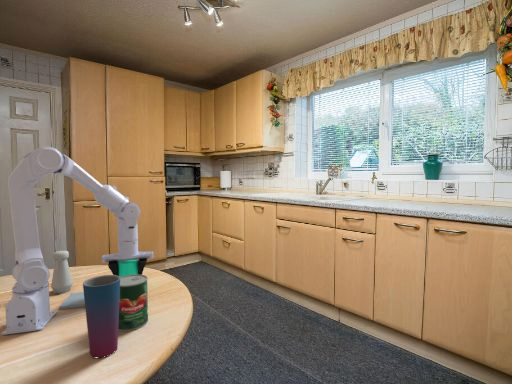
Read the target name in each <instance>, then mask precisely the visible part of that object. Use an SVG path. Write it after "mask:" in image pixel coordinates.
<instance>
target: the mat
mask: <svg viewBox="0 0 512 384" xmlns="http://www.w3.org/2000/svg"><path fill="white" fill-rule="evenodd" d="M76 308H85V300H84V291H79V292H71V293H70V294H69V295H68V296H67V298H65V300H64V301H63V302H62V303H61V304H60V305H59V310H61V311H62V310H67V309H68V310H69V309H76Z"/></svg>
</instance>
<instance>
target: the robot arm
mask: <svg viewBox="0 0 512 384" xmlns="http://www.w3.org/2000/svg"><path fill="white" fill-rule="evenodd" d="M51 174H55V175H59V176H60V175H61V176H66V177H69V178H70V179H72V180H74V181H75V182H76V183H77V184H80V185H81V186H82V187H84V188H85V189H87V190H88V191H90V192H91V193H93V198H94V200H95V201H96V202H97V203H98V204H100V205H101V206H103V207H104V208H105V209H107V210H109V211H110V212H111V213H113V216H114V217H115V218H117V221H116V222H117V253H112V254H103V255H102V256H101V263H102V264H104V263H106V264H107V263H108V265H107V266H108V269H109V270H110V273H112V274H111V275H117V276H118V262H119V261H127V260H139V261H138V273H139V274H138V275H143V271H144V269H145V267H146V264H147V262H148V260H153V259H154V251H139V230H138V226H139V225H138V219H139V218H140V216H141V213H142V211H141V210H140V207H139V205H138V204H137V203H135V202H134V201H133V202H132V201H130V198H129V196H124V195H123V194H122V193H121V192H119V191H118V188H117V187H116V186H115V185H110V184H101V183H100V182H99V181H98V180H97V179H95V177H93V176H92V175H91V174H90V173H88V172H87V170H85V169H84V168H82V166H80V165H78V163H76V162H75V161H74V160H72V159H71V158H70V157H68V156H67V155H66V154H64V153H63V154H62V153H61V151H59V149H56V148H55V147H52V146H42V147H39V148H37V149H34V150H32V151H30V152H29V153H26V154H25V155H23V156H22V157H21V159H20V161H18V163H17V164H16V166H15V167H14V168H13V170H12V171H11V173H10V174H9V175H8V178H7V187H8V197H9V205H10V206H9V207H10V213H11V222H12V230H13V238H14V239H13V240H14V245H15V247H14V248H15V252H14V253H15V254H14V258H15V259H14V260H15V261H14V265H13V267H12V268H11V269H12V270H11V275H12V277H13V279H15V281H16V282H15V284H14V285H13V287H12V288H11V293H12V294H11V295H12V296H11V298H10V300H9V301H8V302H7V304H6V307H5V325H6V327H5V329H4V330H3V331H2V332H1V335H2V336H5V335H14V334H21V333H27V332H36V331H41V330H43V328H45V327H46V326H47V324H48V323H49V322H50V321H51V319H52V318H53V317H54V316H55V315H56V314H57V310H52V311H51V310H50V309H51V308H50V305H51V304H50V303H51V302H50V282H49V279H50V273H51V272H50V270H49V268H48V267H47V266H46V264H45V262H44V256H43V254H42V253H43V252H42V250H41V245H40V244H41V243H40V236H39V235H40V234H39V227H38V218H37V207H36V200H35V199H36V198H35V190H34V189H35V188H34V187H35V185H36V184H38V183H39V182H40V181H41V180H42V179H43V178H45V177H46V176H48V175H51Z"/></svg>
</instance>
